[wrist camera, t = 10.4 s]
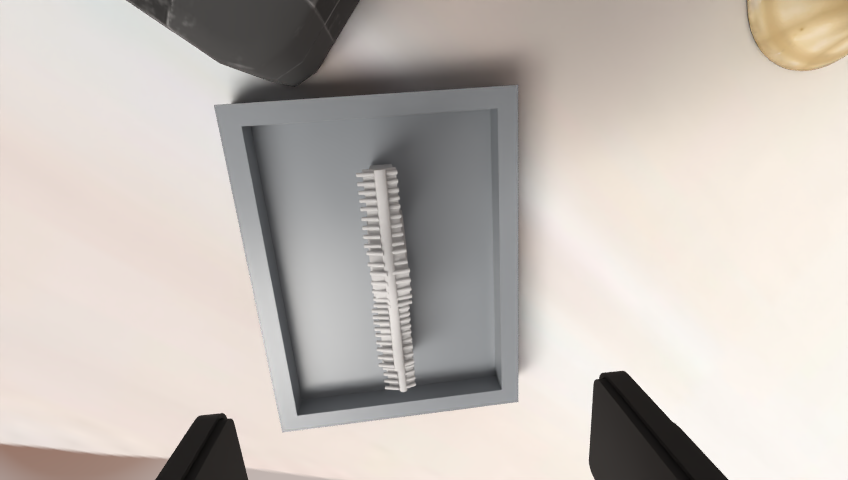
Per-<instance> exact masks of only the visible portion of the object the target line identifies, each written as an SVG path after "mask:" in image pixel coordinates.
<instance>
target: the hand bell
mask: <svg viewBox="0 0 848 480" xmlns="http://www.w3.org/2000/svg"><path fill="white" fill-rule="evenodd" d="M747 5H748V19H749V23H750V28H751V32H752V35H753V37H754V40H755V41H756V43H757V45H758V47H759V48H760V50H761V51H762V52H763V54H764V55H765V56H766V57H767V58H768V59H769V60H770V61H772V62H774V63H775V64H777V65H779V66H781V67H783V68H786V69H790V70H798V71H808V70H814V69H819V68H822V67H825V66H827V65H830V64H832V63H834V62H836V61H838V60H840V59H841V58H843V57H845V56H846V55H848V0H748V1H747Z"/></svg>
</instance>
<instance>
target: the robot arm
mask: <svg viewBox="0 0 848 480" xmlns="http://www.w3.org/2000/svg"><path fill="white" fill-rule="evenodd" d="M589 465H590V469H591V472H592V475H593V477H594V479H595V480H728V479H727V478H726V477H725V476H724V475H723V473H722V472H721V471H720V470H719V469H718V468H717V467H716V466H715V465H714V464H713V463H712V462H711V461H710V459H709V458H708V457H707V456H706V455H705V454H704V453H703V452H702V451H701V450H700V449H699V448H698V447H697V446H696V444H695V443H694V442H693V441H692V440H691V439H690V438H689V437H688V436H687V435H686V434H685V433H684V432H683V431H682V429H681V428H680V427H678V426H677V425H676V424H675V423H673V422H672V421H671V420H670V419H669V418H668V417H667V416H666V414H665V413H664V412H663V411H662V410H661V409H660V408H659V407H658V406H657V405H656V404H655V403H654V402H653V400H652V399H651V398H650V397H649V396H648V395H647V394H646V393H645V392H644V391H643V390H642V389H641V387H640V386H639V385H638V384H637V383H636V382H635V381H634V380H633V379H632V378H631V377H630V376H629V375H628V374H627V373H626V372H625V371H617V372H607V373H602V374H601V375H600V377H599V379H596V380H595V381H594V387H593V403H592V419H591V435H590V452H589ZM156 480H248V477H247V473H246V469H245V465H244V461H243V457H242V453H241V449H240V445H239V441H238V437H237V433H236V429H235V425H234V421H233V420H232V419H227V417H226V415H225V414H223V413H220V414H211V415H201V416H199V417H197V418H196V419H195V421H194V422H193V424H192V425H191V427H190V428H189V430H188V431H187V433H186V434H185V436H184V437H183V439H182V440H181V442H180V443H179V445H178V446H177V448H176V449H175V451H174V452H173V454H172V455H171V457H170V458H169V460H168V462H167V463H166V465H165V466H164V468H163V469H162V471H161V472H160V474H159V475H158V477H157V478H156Z"/></svg>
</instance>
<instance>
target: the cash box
mask: <svg viewBox="0 0 848 480" xmlns="http://www.w3.org/2000/svg"><path fill="white" fill-rule="evenodd" d="M127 1H128V2H129V3H131V4H132V5H134V6H135V7H137V8H138V9H140V10H141V11H143V12H144V13H146V14H147V15H149V16H150V17H152V18H153V19H155V20H156V21H158V22H159V23H161V24H162V25H164V26H165V27H167V28H168V29H169V30H171V31H172V32H174V33H176V34H177V35H179V36H180V37H182V38H183V39H185V40H186V41H188V42H189V43H191V44H192V45H194V46H195V47H196V48H198V49H199V50H201V51H202V52H204V53H205V54H207V55H208V56H210V57H211V58H213V59H214V60H216V61H217V62H219V63H220V64H223V65H226V66H229V67H232V68H234V69H237V70H240V71H243V72H246V73H248V74H251V75H254V76H257V77H260V78H263V79H265V80H268V81H273V82H277V83H281V84H285V85H290V86H294V87H295V86H297V85H298V84H300V83H301V82H302V81H304V80H305V79H307V78H308V77H310V76H311V75H313V74H314V73H315V72H317V70H318V68H319V67H320V65H321V63H322V62H323V60H324V58H325V57H326V55H327V53H328V52H329V50H330V48H331V47H332V45H333V43H334V42H335V40H336V39H337V37H338V35H339V34H340V32H341V30H342V29H343V27H344V25H345V24H346V22H347V20H348V19H349V17H350V15H351V14H352V12H353V10H354V9H355V7H356V5H357V4H358V2H359V0H127Z"/></svg>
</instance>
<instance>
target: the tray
mask: <svg viewBox="0 0 848 480" xmlns="http://www.w3.org/2000/svg"><path fill="white" fill-rule="evenodd" d="M214 107H215V112H216V117H217V122H218V127H219V131H220V136H221V141H222V146H223V150H224V155H225V160H226V165H227V170H228V174H229V179H230V184H231V189H232V194H233V198H234V203H235V208H236V213H237V217H238V222H239V227H240V232H241V237H242V241H243V246H244V251H245V256H246V261H247V265H248V270H249V275H250V280H251V284H252V289H253V294H254V299H255V304H256V308H257V313H258V318H259V323H260V328H261V332H262V337H263V342H264V347H265V351H266V356H267V361H268V366H269V371H270V375H271V380H272V385H273V390H274V395H275V399H276V404H277V409H278V414H279V418H280V423H281V428H282V432H289V431H297V430H304V429H312V428H320V427H327V426H335V425H343V424H351V423H358V422H366V421H374V420H382V419H389V418H397V417H405V416H412V415H420V414H428V413H436V412H443V411H451V410H459V409H467V408H474V407H482V406H490V405H497V404H505V403H513V402H518V85H508V86H493V87H478V88H463V89H448V90H433V91H418V92H403V93H388V94H373V95H358V96H342V97H327V98H312V99H297V100H282V101H267V102H252V103H237V104H222V105H214ZM383 164H392V167H396V170H397V172H398V173H397V174H396V178H397V179H398V183H397V188H399V192H398V196H399V197H400V200H398V202H399V204H400V208H399V210H400V209H401V210H402V215H403V222H404V231H405V240H406V250H407V260H408V268H410V272H409V277H410V279H411V282H410V286H411V289H412V290H411V291H410V294H412V298H409V300H412V304H408V305H409V307H410V309H408V311H409V312H410V315H409V317H410V319H411V321H409V323H410V324H411V327H410V329H411V332H412V333H411V337H412V345H413V349H412V351H413V354H414V355H413V358H414V370H415V372H414V374H415V375H414V376H415V379H414V381H415V383H416V386H413V387H410V388H407V391H406V392H401V391H400V390H391V389H385V386H390V384H389V383H387V382H384V380H385V379H389V378H388V376H384V372H387V370H383V367H379V363H382V360H384V359H378V355H383V352H381V351H377V348H378V347H380V348H382V346H380V344H376V341H377V340H379V341H382V339H381V337H376V336H375V334H376V333H381V331H375V327H380V325H377V324H374V321H379V319H373V315H378V313H372V309H377V307H374V303H376V301H374V300H373V297H374V293H372V290H373V285H372V284H371V281H372V277H371V275H370V271H371V268H370V267H369V266H368V262H370V259H369V255H367V254H366V253H367V251H369V248H364V244H368V239H364V238H363V235H368V233H367V230H363V229H362V227H363V226H367V221H362V220H361V218H362V217H367V211H361V210H360V208H361V207H366V203H360V202H359V200H360V199H365V195H359V194H358V191H364V186H357V183H358V182H363V177H356V173H362V170H366V169H369V167H370V165H383Z"/></svg>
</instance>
